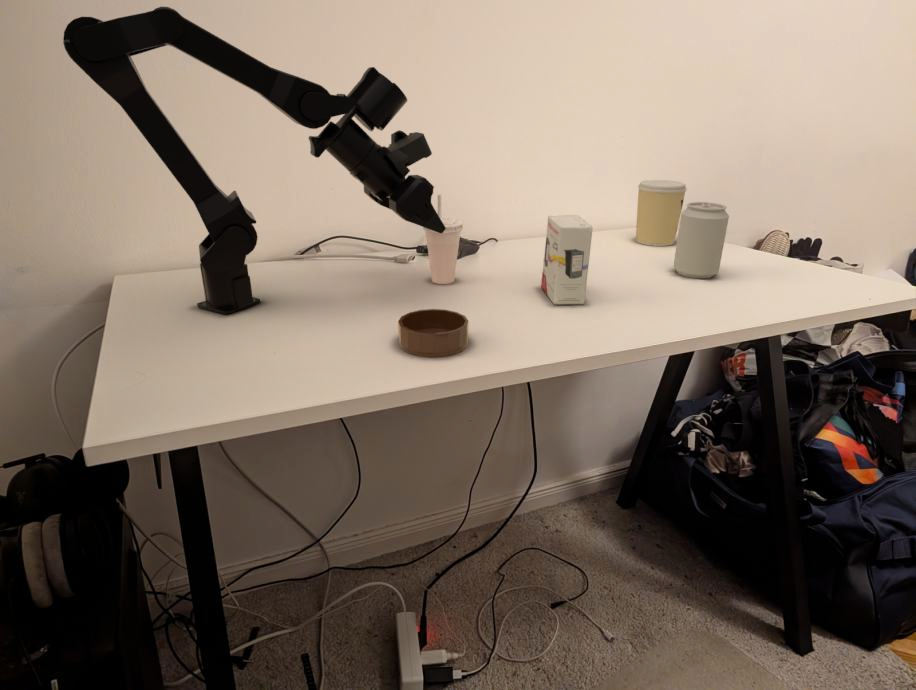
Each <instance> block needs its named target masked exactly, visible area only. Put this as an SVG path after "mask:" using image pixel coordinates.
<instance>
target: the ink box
mask: <svg viewBox="0 0 916 690" xmlns="http://www.w3.org/2000/svg"><path fill="white" fill-rule="evenodd" d="M545 234H546V236H545V245H544V254H543V255H544V257H543V263H542V272H541V273H542V275H541V283H540V284H541V285H540V288H542V290H543V291H544V293H545V295H547V297H548V298H549V299H550V300H551V302H552V303H553V305H585V301H586V293H587V292H586V291H587V284H588V283H587V281H588V273H589V265H590V256H591V248H592V247H591V246H592V239H593V238H592V237H593V225H592V224H590V223H589V222H588V221H586V219H584V218H582V216H580V214H579V215H578V214H561V215H560V214H559V215H555V214H554V215H547V224H546V233H545Z"/></svg>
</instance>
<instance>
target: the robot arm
mask: <svg viewBox="0 0 916 690" xmlns="http://www.w3.org/2000/svg"><path fill="white" fill-rule="evenodd" d="M62 43H63V47H64V50H65V51H66V53H67V55H68V57H69V58H70V59H71V60H72V61H73V63H75V64H76V66H78V67H79V68H80V69H81V70H82V72H84V73H85V74H86V75H87V76H88V77H89V78H90V79H91V80H92V81H93V82H94V83H95V84H96V85H97V86H98V87H99V88H101V89H102V91H104V92H105V93H106V94H107V95H108V96H109V97H110V98H112V100H114V101H115V102H116V103H117V104H118V105H119V106H120V107H121V108H122V110H123V111H124V112H125V114H126V115H127V116H128V118H129V119H130V120H131V122H132V123H133V125H134V126H135V127H136V128H137V130H138V131H139V133H140V134H141V135H142V136H143V137H144V139H145V141H147V143H148V144H149V146H150V147H151V148H152V150H154V152H155V153H156V154H157V156H158V157H159V159H160V160H161V161H162V162H163V165H165V167H166V168H167V169H168V171H169V172H170V173H171V174H172V176H173V178H175V180H176V181H177V182H178V184H179V185H180V186H181V187H182V189H183V190H184V192H185V193H186V194H187V196H188V197H189V199H190V200H191V201H192V202H193V204H194V206H195V208H196V211H197V213H198V214H199V217H200V218H201V221H202V223H203V225H204V226H205V229H206V230H207V233H208V234H207V236H205V238H204V239H203V240H202V241H201V242H200V243H199V245H198V253H199V267H200V273H201V280H202V285H203V286H202V287H203V292H204V297H205V300H202V301H200V302H197V303H196V306H197V308H200V309H202V310H203V309H204V310H208V311H210V312H215V313H218V314H222V315H229V314H233V313H236V312H238V311H240V310H243V309H247V308H249V307H252V306H254V305H257V304H260V303H261V301H262V300H261V298H259V297H255V296H253V292H252V291H253V289H252V282H251V276H250V275H249V268H248V264H247V263H245V262H246V258H247V256H248V255H250V253H252V252H253V251H254V250H255V248H256V246H257V244H258V237H259V236H258V232H257V230H256V228H255V226H254V224H257V220H256V219H255V216H254V214H253V212H252V211H250V210H248V209H247V208H246V207H245V206H244V204H243V203H242V201H241V199H240V196H239V195H238V192H237V191H236V190H232V192H230V194H226V193H225V192H224V191H223V190H222V189H221V188H220V187H219V186H218V185H216V183H215V182H214V180H213V179H212V177H211V176H210V174H209V173H208V172H207V171H206V170H205V168H204V167H203V165H202V164H201V162H200V161H199V159H198V158H197V157H196V156H195V154H194V153H193V152H192V150H191V149H190V148H189V146H188V145H187V143H186V142H185V141H184V139H183V138H182V136H181V135H180V133H179V132H178V131H177V129H176V128H175V127H174V125H173V124H172V123H171V121H170V120H169V117H167V116H166V114H165V113H164V112H163V110H162V109H161V107H160V106H159V104H158V103H157V101H156V100H155V98H154V97H153V96H152V95H151V94H150V92H149V90H148V88H147V86H146V84H145V83H144V80H143V78H142V77H141V74H140V72H139V70H138V68H137V66H136V64H135V62H134V60H133V58H132V57H133V56H137V55H140V54H143V53H146V52H150V51H154V50H157V49H160V48H163V47H166V46H169V47H172V48H175V49H176V50H177V51H180V52H182V53H184V54H185V55H187V56H188V57H191V58H192V59H194V60H196V61H198V62H200V63H202V64H204V65H205V66H207V67H209V68H211V69H212V70H214V71H217V72H219V73H220V74H222V75H224V76H226V77H227V78H229V79H232V80H233V81H234V82H236V83H238V84H241V85H242V86H244V87H246V88H248V89H249V90H252V91H253V92H255V93H257V94H258V95H259V96H261V97H262V98H263V99H264V100H266V101H267V102H268V103H269V104H271V105H272V107H274V108H276V109H277V110H278V111H279V112H280V113H282V114H283V115H285V116H286V117H287V118H288V119H289V120H291V122H293V123H295V124H296V125H299V126H302V127H304V128H307V129H310V130H317V129H319V128H323V127H324V126H325V127H324V128H323V129H322V130H321V132H319V134H318V135H309V136H308V141H309V144H310V155H311V156H313V157H315V158H318V159H319V158H320V157H321V156H322V155H323V153H324V152H328V153H329V155H330V156H332V157H333V158H334V159H335V161H336V162H338V163H339V164H341V166H343V167H344V168H345V169H346V170H347V171H348V172H349V174H350V175H351V176H352V177H353V178H354V179H355V180H357V181H359V182H360V183H361V184H362V186H363V193H364V194H365V195H366V196H368V197H369V198H370V200H372V201H373V202H375V203H376V204H378V205H380V206H382V207H384V208H387V209H388V210H391V211H392V212H393V213H395V214H396V215H397V216H398V217H399V218H401V219H402V220H404V221H405V222H408V223H412V224H415V225H416V226H420V227H422V228H423V227H425V228H428V229H430V230H433V231H436V232H438V233H443V232H444V230H445V229H446V228H445V226H444V224H443V223H442V221H441V219H442V218H441V219H440V217H439V216H438V211H437V210H436V208H435V207H434V205H433V204H432V196H433V195H434V189H435V186H434V185H433V184H432V183H431V182H430V181H429V180H428V179H427V178H426V177H424V176H421V175H419V174H409V173H410V171H411V170H410V169H409V167H411V166H412V165H413V164H416V163H418V162H419V161H421V160H422V159H427V158H429V157H430V156H432V155H433V152H432V149H431V148H430V145H429V143H428V141H427V139H426V136H425V134H424V133H422V132H418V131H415V132H410V133H408V134H407V133H405V132H404V131H403V130H401V129H400V130H399V129H398V130H396V131H394V132H393V133H391V135H390V142H391V143H390V144H388V146H387V147H386V146H385V145H383V146H381V145H380V144H378V143H377V142H376V141H375V140H374V139H373V138H372V137H371V136H370V135H369V134H368V133H367V132H366V131H365V130H364V129H363V128H362V127H361V126H360V125H359V124H358V123H357V122H356V121H355V120H354V119H353V118H355V119H356V120H357V121H358V122H359V123H360V124H361V125H362V126H363V127H364V128H366V129H367V130H368V131H370V132H374V130H375V128H376V130H379V131H381V132H382V131H384V129H385V128H386V127H387V126H388V125H389V124H390V122H391V121H392V120H393V119H394V118H395V116H396V115H397V114H398V113H399V112H400V111H401V109H402V108H403V107H404V106H405V105H406V104H407V103H408V98H407V96H406V95H405V93H404V92H403V91H402V89H401V88H400V87H399V85H398V84H396V83H395V82H392V81H391V80H390V79H389V78H388V77H386V76H385V75H384V74H382V73H381V72H379V71H378V70H377V68H375V66H370V67H368V68H367V69H366V70H365V72H364V73H363V74H362V76H361V78H360V80H359V81H358V82H357V83H356V84H355V85H354V87H353V88H352V89H351V90H350V91H349V92H348V93H347V94H345V93H336V94H331V93H330V92H329V91H328V89H326V88H325V87H324V86H323V85H321V84H319V83H316V82H314V81H311V80H308V79H305V78H304V77H303V78H302V77H299V76H297V75H294V74H291V73H288V72H285V71H283V70H280V69H277V68H274V67H271V66H269V65H267V64H266V63H264V62H262V61H260V60H259V59H258V58H255V57H254V56H252V55H250V54H248V53H246V52H245V51H244V50H242V49H240V48H238V47H236V46H235V45H232V44H231V43H229V42H227V41H226V40H224V39H222V38H220V37H219V36H217V35H215V34H213V33H212V32H210V31H208V30H207V29H205V28H203V27H201V26H199V25H198V24H196V23H194V22H192V21H191V20H189V19H188V18H186V17H184V16H183V15H181V14H180V13H179V11H177V10H176V9H174V8H172V7H169V6H159V7H156V8H154V9H153V10H149V11H146V12H142V13H136V14H130V15H126V16H121V17H117V18H113V19H109V20H105V21H104V20H102V19H99V18H96V17H93V16H80V17H77V18H74V19H73V20H71V21H70V22H68V23H67V25H66V27H65V29H64V31H63V41H62ZM339 116H342V117H340V119H338V120H337V122H336V123H335V122H333V121H331V119H332V118H333V117H334V118H335V117H339ZM408 174H409V175H408ZM406 176H407V177H406Z"/></svg>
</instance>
